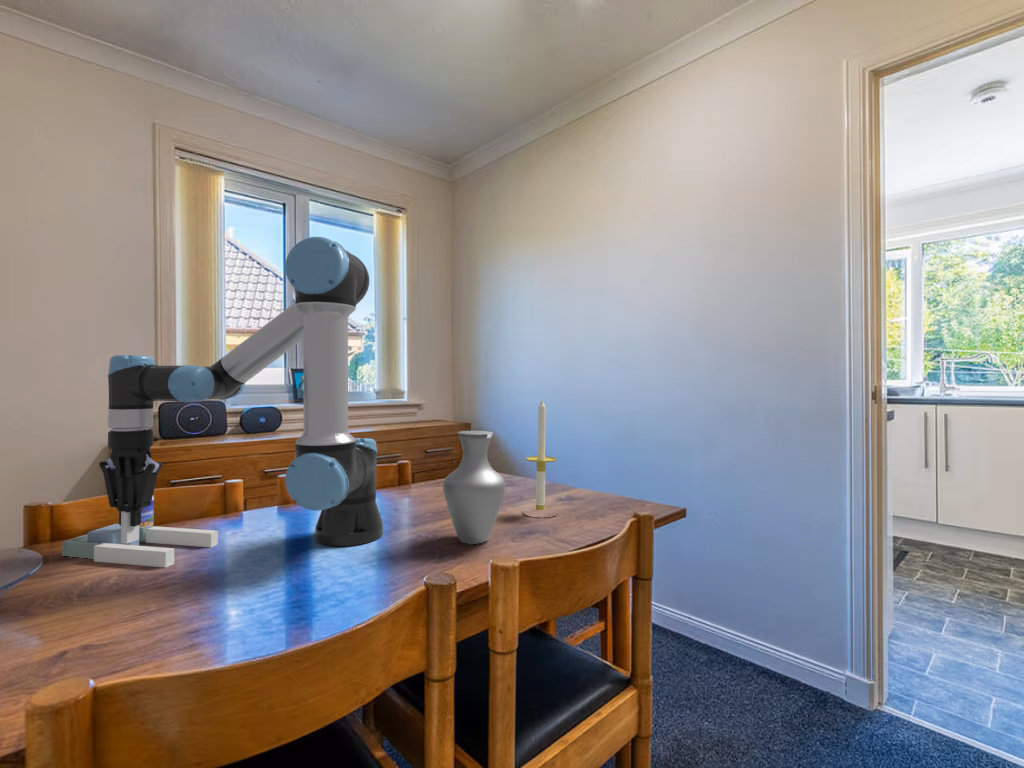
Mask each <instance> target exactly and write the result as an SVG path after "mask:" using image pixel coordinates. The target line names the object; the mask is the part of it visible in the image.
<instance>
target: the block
mask: <svg viewBox="0 0 1024 768" xmlns="http://www.w3.org/2000/svg"><path fill="white" fill-rule="evenodd" d="M87 534H88V542H91V543H98V545H99V544H102V543H111V544H124V545H136V546H140V542H139V539H138V540H136V541H133V542H130V543H121V526H120V525H119V523H113V524H111V525H107V526H104V527H101V528H97V529H93V530H90V531H88V532H87Z"/></svg>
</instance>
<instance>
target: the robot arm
mask: <svg viewBox="0 0 1024 768" xmlns="http://www.w3.org/2000/svg"><path fill="white" fill-rule="evenodd" d="M284 271H285V275H286V278H287V280H288V281H289V283H290V285H291V286H292V287H293V288H294V290H295V292H294V299H295V302H294V303H292V304H291V305H290V306H288V307H287V308H286V309H284V310H283V311H282V312H280V313H279V314H278V315H276V316H275V317H274V318H273V319H271V320H270V321H269V322H268V323H266V324H264V325H263V326H262V327H260V329H258V330H256V331H255V332H254V333H253V334H252V335H249V336H248V337H247V338H246V339H245V340H244V341H243V342H241V343H239V344H238V345H237V346H236V347H234V348H233V349H231V350H230V351H229V352H228V353H226V354H225V355H224V356H222V357H221V358H220V359H218V360H217V361H216V362H215V363H213V364H211V365H210V366H200V365H190V364H184V365H158V364H155V359H154V357H153V356H150V355H138V354H137V355H135V354H134V355H133V354H132V355H131V354H130V355H129V354H115V355H113V356H111V357H110V359H109V365H108V374H107V378H108V380H107V381H108V409H107V411H108V412H107V415H108V416H107V428H108V429H111V430H109V431H108V432H107V447H108V449H110V450H111V453H110V455H109V458H108V459H107V460H104V461H103V460H102V461H100V462H99V463H98V466H99V468H100V469H101V471H102V473H103V478H104V483H105V488H106V493H107V498H108V503H109V507H110V508H116V509H117V511H118V515H119V516H118V524H119V525H120V526H121V543H130V542H133V541H136V540H138V539H139V525H140V524H141V510H142V509H143V508H145V507H148V506H150V505H151V501H152V497H153V496H154V491H155V487H156V482H157V479H158V475H159V472H160V471H161V470H162V467H163V462H161V461H159V462H156V461H155V460H154V459H153V458H152V453H151V447H153V445H154V430H153V429H152V427H153V426H154V404H155V403H154V402H180V403H195V402H204V401H207V400H228V399H230V398H231V399H232V398H236V397H237V396H239V395H240V394H241V393H242V392H243V390H244V388H245V384H246V383H247V382H248V381H249V380H251V379H252V378H254V377H255V376H256V375H257V374H259V373H260V372H261V371H264V369H266V368H267V367H268V366H269V365H271V364H272V363H274V362H275V361H276V360H278V359H279V358H280V357H282V356H283V355H284V354H285V353H287V352H288V351H290V350H291V349H292V348H293V347H295V346H296V345H298V344H299V343H300V342H302V341H303V433H302V434H301V436H300V437H298V439H296V440H295V444H294V445H295V451H294V452H295V453H294V454H295V455H294V459H293V461H292V462H291V463H290V464H289V466H288V467H287V470H286V472H285V478H284V482H285V483H284V484H285V488H286V492H287V493H288V495H289V496H290V498H291V499H292V500H293V501H294V502H295V503H296V504H297V505H298V506H300V507H301V508H303V509H306V510H308V511H309V510H310V511H316V512H319V511H320V514H319V517H318V520H317V522H316V525H315V529H314V540H315V542H316V543H319V544H321V545H326V546H334V547H348V546H357V545H362V544H367V543H370V542H374V541H376V540H378V539H379V538H381V537H382V536H383V534H384V524H383V519H382V517H381V513H380V511H379V508H378V507H379V506H378V504H377V496H376V495H377V463H378V461H377V457H378V448H377V441H376V440H375V439H374V438H368V437H367V438H366V437H365V438H364V437H363V438H362V437H354V436H353V435H352V434H351V433H349V317H350V315H352V314H353V313H354V311H356V309H357V305H358V304H359V303H361V301H362V300H363V299H364V298H365V296H366V294H367V292H368V291H369V286H370V275H369V271H368V269H367V267H366V265H365V263H364V262H363V261H362V260H361V259H360V258H359V257H357V256H356V255H354V254H352V253H351V252H349V251H348V250H346V249H345V248H344V246H343V245H341V244H340V243H338V242H337V241H334V240H331V239H330V238H326V237H323V236H310V237H307V238H304V239H301V240H300V241H299V242H297V243H296V245H294V246H293V247H292V248H291V249H290V250H289V252H288V254H287V256H286V259H285V263H284Z"/></svg>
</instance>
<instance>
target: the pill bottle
mask: <svg viewBox="0 0 1024 768" xmlns="http://www.w3.org/2000/svg"><path fill="white" fill-rule="evenodd" d="M154 504H155V496H154V495H153V497H152V501H151V505H150V506H148V507H145V508H143V509H142V510H141V524H140V525H139V527H146V529H147V528H150V527H153V526H154V520H155V519H154V517H155V513H154V510H155V508H154V507H155V505H154Z"/></svg>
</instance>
